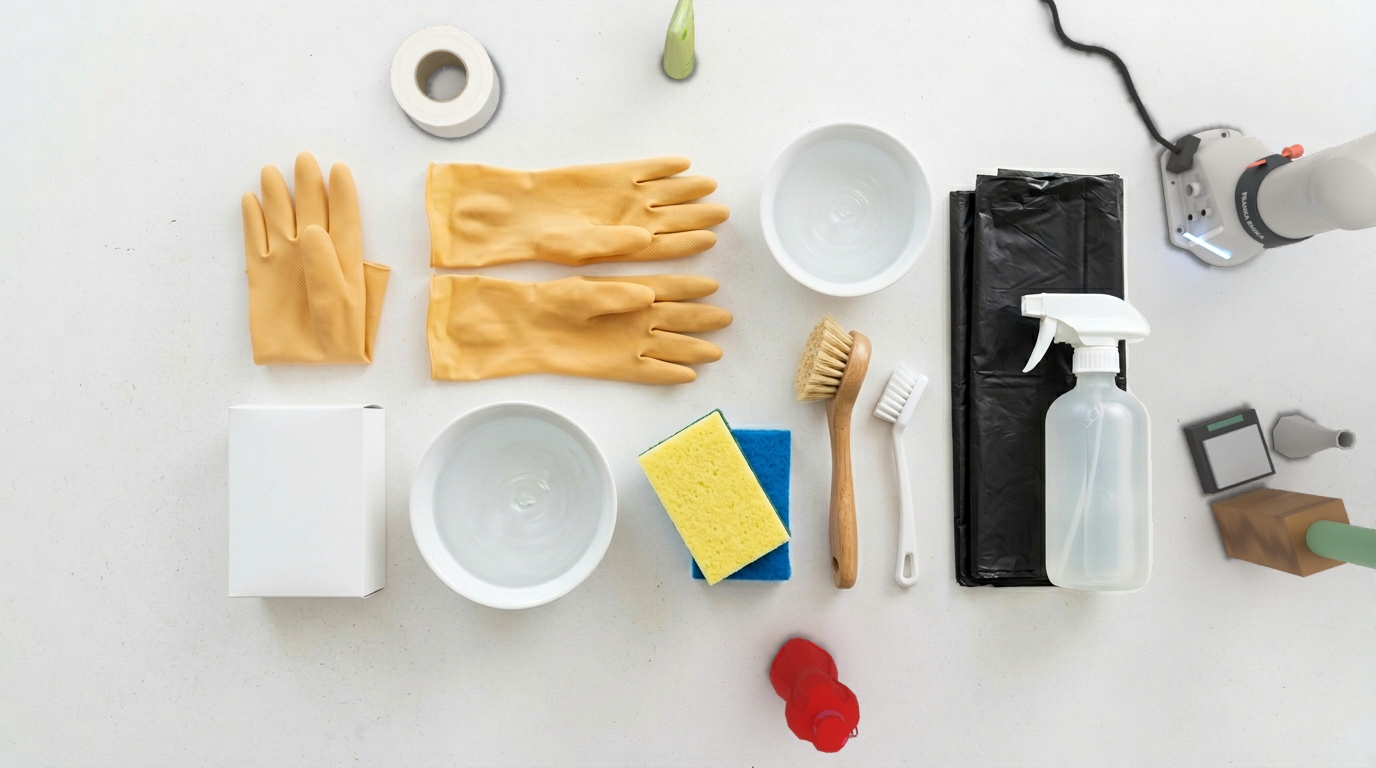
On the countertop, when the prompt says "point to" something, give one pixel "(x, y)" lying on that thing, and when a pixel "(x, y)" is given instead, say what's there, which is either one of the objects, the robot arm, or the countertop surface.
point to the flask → (1308, 437)
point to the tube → (680, 41)
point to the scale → (1229, 451)
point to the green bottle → (1343, 542)
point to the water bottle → (814, 696)
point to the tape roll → (427, 56)
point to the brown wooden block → (1277, 528)
